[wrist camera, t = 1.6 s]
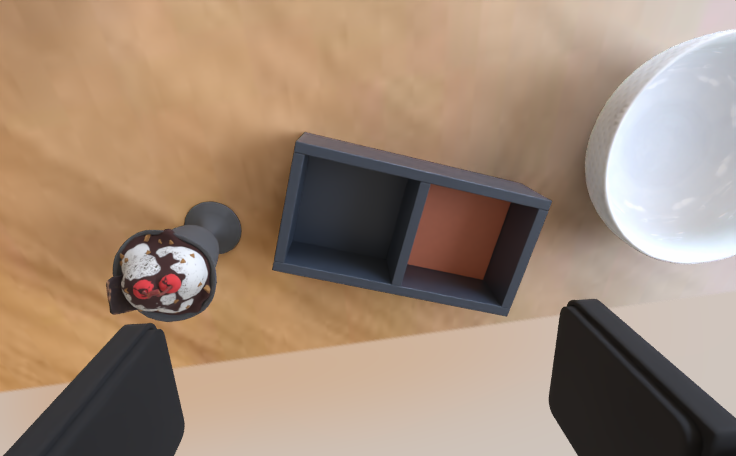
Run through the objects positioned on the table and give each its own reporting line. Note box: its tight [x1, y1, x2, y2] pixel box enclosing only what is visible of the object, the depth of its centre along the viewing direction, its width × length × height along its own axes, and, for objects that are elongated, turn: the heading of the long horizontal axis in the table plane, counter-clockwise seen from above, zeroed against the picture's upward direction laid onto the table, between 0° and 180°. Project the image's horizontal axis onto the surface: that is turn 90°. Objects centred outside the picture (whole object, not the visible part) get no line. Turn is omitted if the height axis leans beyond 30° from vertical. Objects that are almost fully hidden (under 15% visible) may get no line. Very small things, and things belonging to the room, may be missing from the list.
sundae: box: [106, 202, 241, 322], centre depth 30 cm, size 7×7×15 cm
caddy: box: [272, 132, 552, 316], centre depth 34 cm, size 10×19×6 cm, turn 76°
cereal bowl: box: [585, 29, 736, 264], centre depth 33 cm, size 17×17×7 cm
